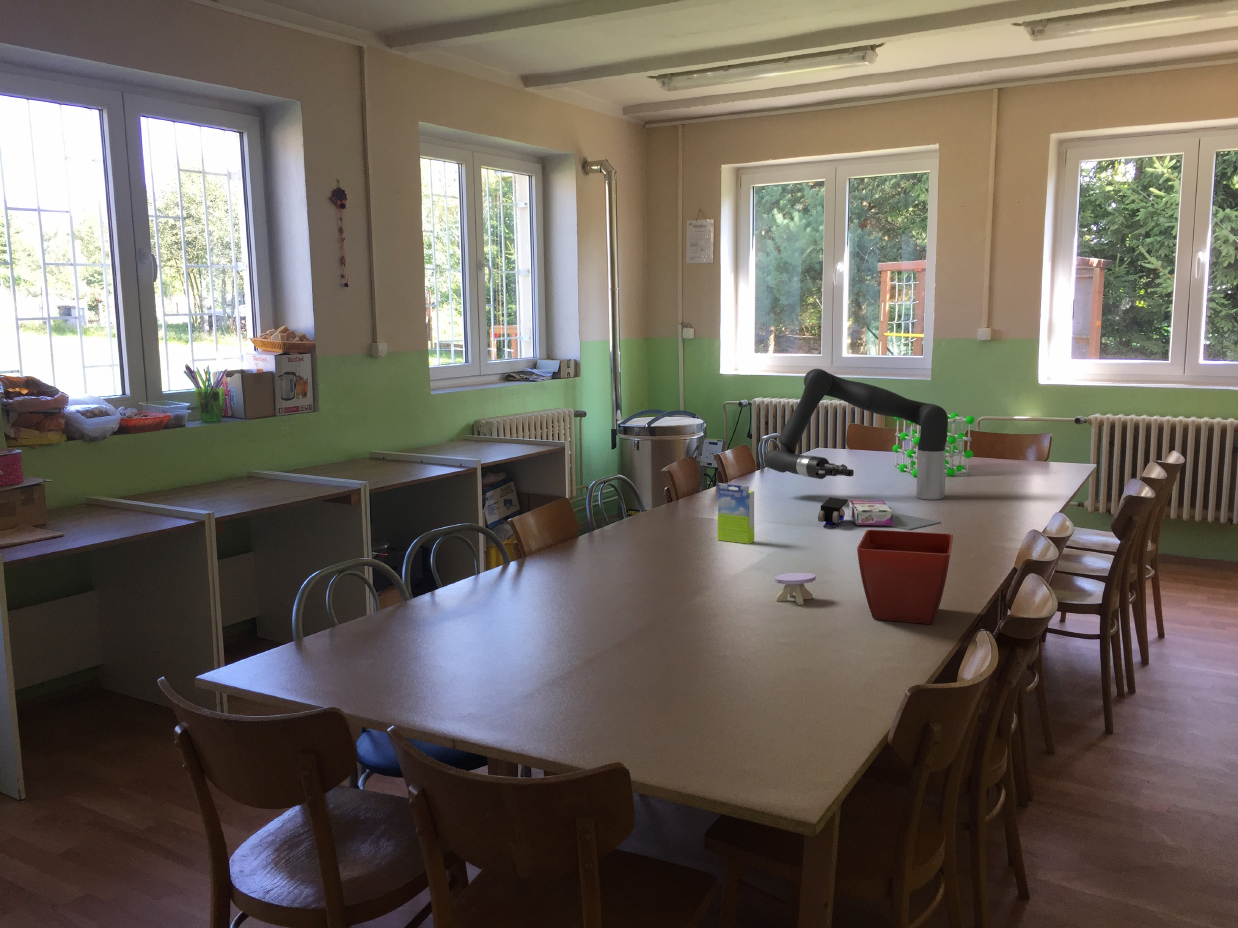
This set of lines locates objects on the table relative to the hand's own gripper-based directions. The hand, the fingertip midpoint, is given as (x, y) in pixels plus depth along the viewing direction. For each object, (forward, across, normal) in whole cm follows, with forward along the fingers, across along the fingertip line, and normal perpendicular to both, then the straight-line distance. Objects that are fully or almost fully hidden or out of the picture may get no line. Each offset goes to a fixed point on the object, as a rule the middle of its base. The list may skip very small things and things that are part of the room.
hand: (852, 473), depth 323 cm
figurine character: (+8, -19, +14) cm, 25 cm away
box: (+5, -58, +14) cm, 60 cm away
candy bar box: (+7, -1, +10) cm, 13 cm away
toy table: (+56, -88, +14) cm, 105 cm away
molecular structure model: (-30, +86, +13) cm, 93 cm away
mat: (+20, 0, +13) cm, 24 cm away
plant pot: (+79, -77, +13) cm, 112 cm away
